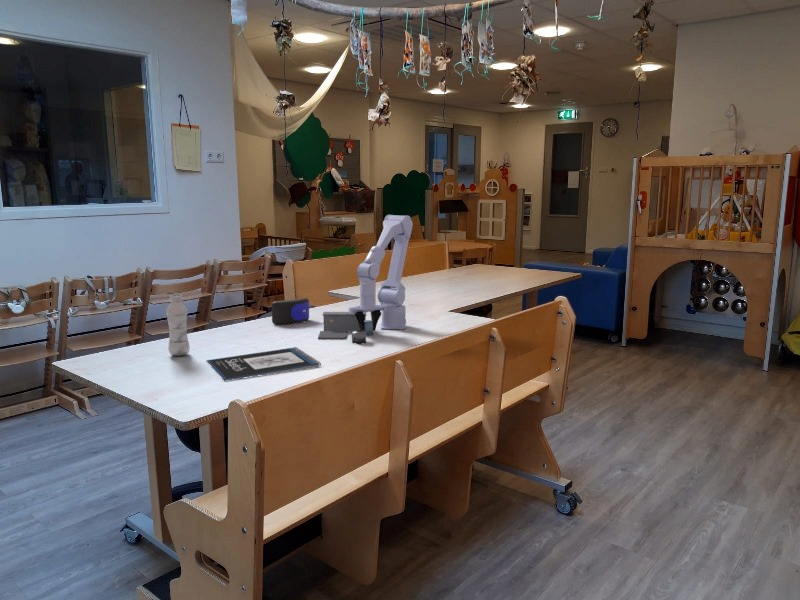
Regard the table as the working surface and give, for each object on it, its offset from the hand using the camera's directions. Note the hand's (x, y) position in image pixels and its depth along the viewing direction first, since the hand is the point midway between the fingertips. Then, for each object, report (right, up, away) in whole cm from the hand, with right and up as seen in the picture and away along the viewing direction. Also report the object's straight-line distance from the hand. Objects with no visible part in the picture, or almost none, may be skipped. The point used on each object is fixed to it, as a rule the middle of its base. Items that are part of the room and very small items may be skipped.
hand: (367, 330), depth 227 cm
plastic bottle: (-60, -7, -30) cm, 67 cm away
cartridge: (0, -1, 0) cm, 1 cm away
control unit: (-9, 0, +7) cm, 12 cm away
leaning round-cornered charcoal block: (-32, +2, +19) cm, 37 cm away
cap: (-3, -4, -11) cm, 11 cm away
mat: (-13, -2, -2) cm, 13 cm away
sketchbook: (-30, -9, -38) cm, 50 cm away
